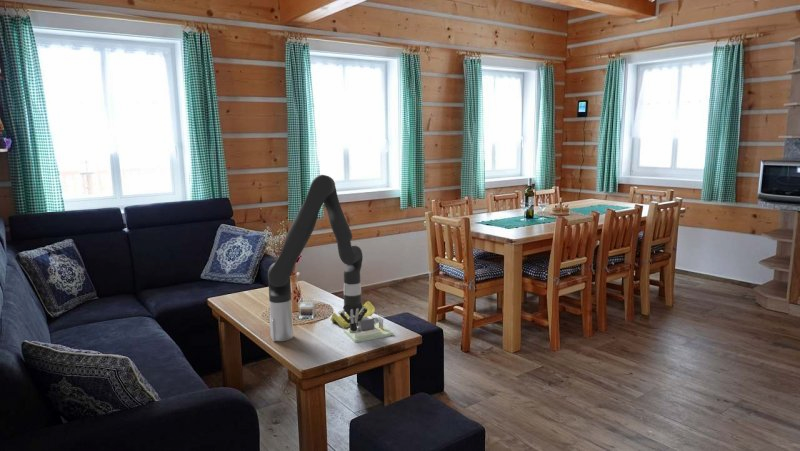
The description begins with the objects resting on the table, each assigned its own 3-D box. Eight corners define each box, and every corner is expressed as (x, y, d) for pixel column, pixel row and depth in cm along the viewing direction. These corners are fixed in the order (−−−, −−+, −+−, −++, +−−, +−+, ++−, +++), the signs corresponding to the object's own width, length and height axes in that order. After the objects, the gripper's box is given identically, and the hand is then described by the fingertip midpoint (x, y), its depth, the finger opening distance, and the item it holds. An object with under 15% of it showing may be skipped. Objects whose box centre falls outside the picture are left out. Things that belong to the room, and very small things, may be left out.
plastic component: (343, 324, 245) (332, 310, 251) (341, 336, 249) (329, 322, 255) (378, 312, 257) (367, 298, 263) (375, 323, 261) (364, 310, 267)
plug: (361, 334, 236) (361, 320, 235) (358, 331, 240) (357, 317, 239) (374, 331, 239) (373, 318, 238) (370, 329, 242) (370, 315, 241)
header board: (354, 342, 230) (354, 328, 229) (344, 332, 242) (343, 319, 241) (393, 335, 238) (393, 321, 237) (381, 325, 250) (381, 312, 248)
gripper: (363, 288, 239) (364, 325, 242) (334, 292, 234) (336, 330, 237) (370, 292, 233) (370, 331, 236) (340, 297, 227) (341, 336, 230)
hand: (353, 330), depth 236 cm, fingers closed
